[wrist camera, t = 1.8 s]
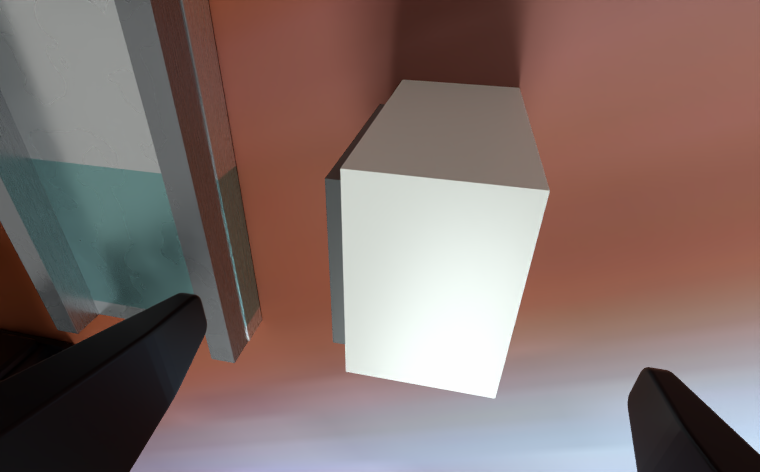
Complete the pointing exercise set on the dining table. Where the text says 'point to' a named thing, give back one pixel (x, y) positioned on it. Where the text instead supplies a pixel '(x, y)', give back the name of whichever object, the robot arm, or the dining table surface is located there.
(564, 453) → the dining table surface
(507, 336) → the white rectangular block
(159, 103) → the rail
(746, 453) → the robot arm
